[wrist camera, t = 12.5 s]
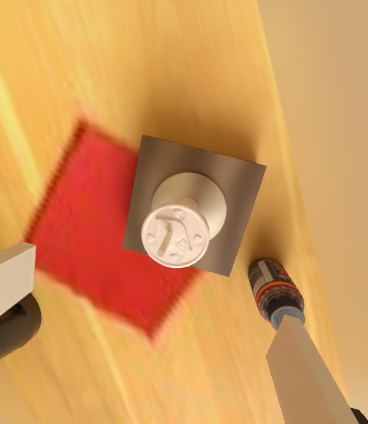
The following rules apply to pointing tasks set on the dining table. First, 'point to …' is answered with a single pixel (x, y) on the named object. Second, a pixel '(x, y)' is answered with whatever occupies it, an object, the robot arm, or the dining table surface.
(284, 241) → the dining table surface
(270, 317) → the supplement bottle
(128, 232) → the stand
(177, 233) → the white drink cup
